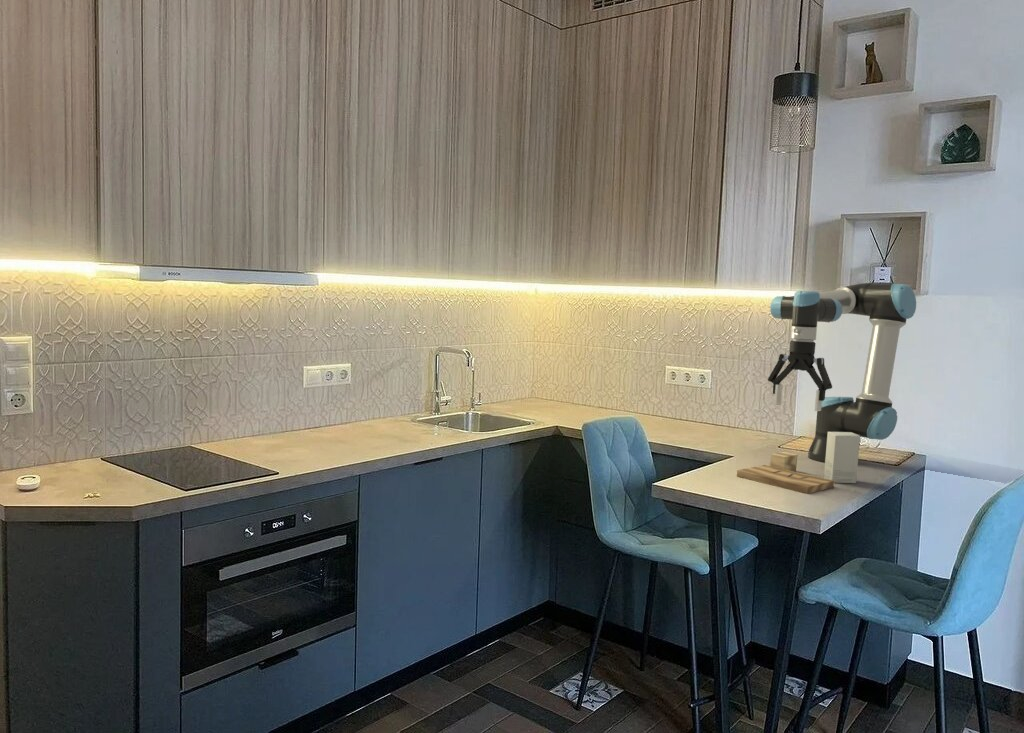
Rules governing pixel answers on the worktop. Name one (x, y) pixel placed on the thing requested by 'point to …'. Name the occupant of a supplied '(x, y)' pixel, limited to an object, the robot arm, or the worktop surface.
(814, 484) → the board
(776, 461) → the block
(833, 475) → the skincare box
